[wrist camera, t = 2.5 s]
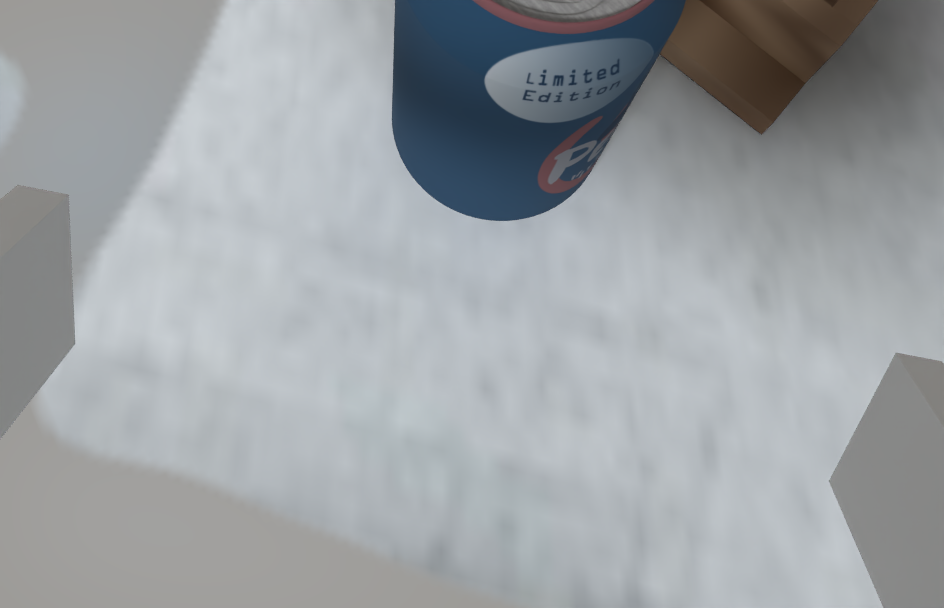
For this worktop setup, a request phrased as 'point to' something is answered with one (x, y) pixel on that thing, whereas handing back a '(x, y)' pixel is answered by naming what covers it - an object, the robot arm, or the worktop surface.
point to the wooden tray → (759, 49)
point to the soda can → (516, 94)
